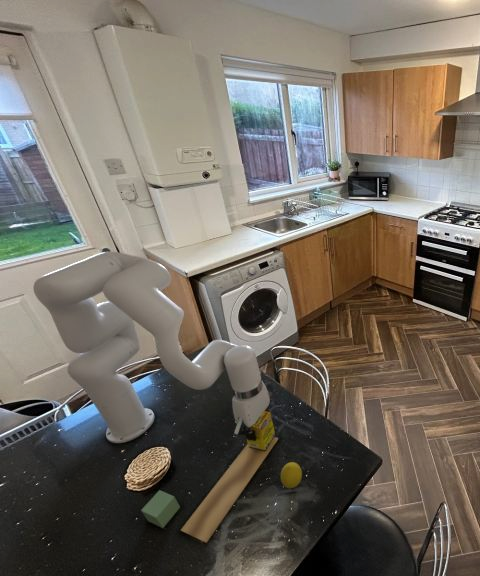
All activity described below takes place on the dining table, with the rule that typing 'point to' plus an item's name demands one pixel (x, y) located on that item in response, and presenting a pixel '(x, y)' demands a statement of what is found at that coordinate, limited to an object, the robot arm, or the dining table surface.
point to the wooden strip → (225, 493)
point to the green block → (160, 509)
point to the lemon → (291, 475)
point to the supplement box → (262, 432)
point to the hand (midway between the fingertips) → (259, 428)
